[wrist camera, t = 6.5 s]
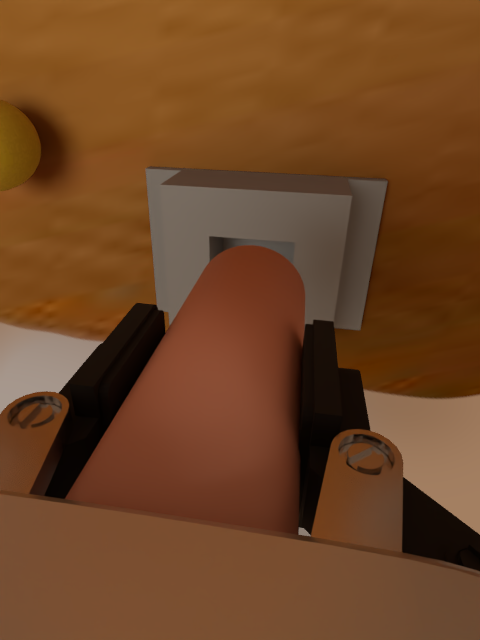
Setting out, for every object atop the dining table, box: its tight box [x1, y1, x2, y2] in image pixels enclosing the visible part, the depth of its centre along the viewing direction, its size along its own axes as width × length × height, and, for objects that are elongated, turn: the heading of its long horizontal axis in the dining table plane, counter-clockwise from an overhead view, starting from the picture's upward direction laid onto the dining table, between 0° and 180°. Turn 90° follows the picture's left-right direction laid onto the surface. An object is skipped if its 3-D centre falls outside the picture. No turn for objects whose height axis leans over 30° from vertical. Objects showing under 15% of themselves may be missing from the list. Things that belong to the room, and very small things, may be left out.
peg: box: [65, 245, 305, 535], centre depth 11 cm, size 4×4×12 cm
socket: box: [146, 167, 388, 330], centre depth 29 cm, size 16×11×5 cm
